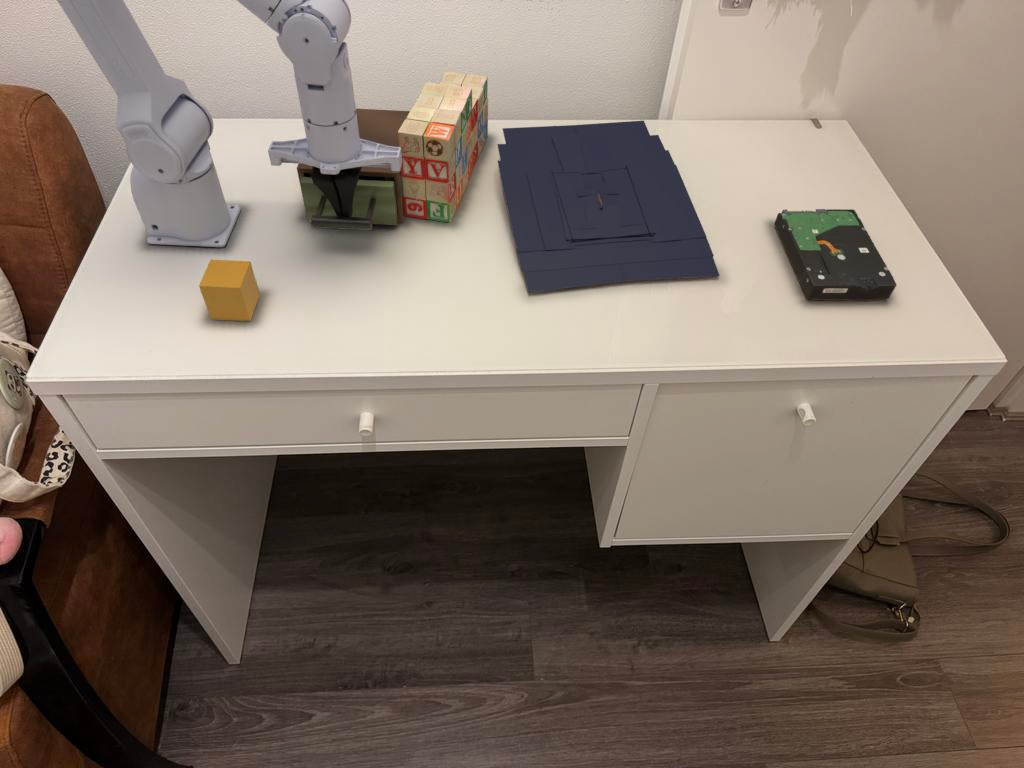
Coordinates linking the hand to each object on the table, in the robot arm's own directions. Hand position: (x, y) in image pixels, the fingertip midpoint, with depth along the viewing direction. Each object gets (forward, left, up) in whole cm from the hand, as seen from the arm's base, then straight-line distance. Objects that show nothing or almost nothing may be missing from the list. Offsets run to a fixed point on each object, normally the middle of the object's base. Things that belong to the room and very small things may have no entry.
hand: (345, 216), depth 90 cm
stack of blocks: (+11, +16, -4) cm, 20 cm away
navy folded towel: (+31, +9, -4) cm, 33 cm away
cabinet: (0, +12, -4) cm, 12 cm away
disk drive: (+60, +1, -4) cm, 60 cm away
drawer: (0, +7, -3) cm, 7 cm away
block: (-11, -12, -4) cm, 17 cm away
